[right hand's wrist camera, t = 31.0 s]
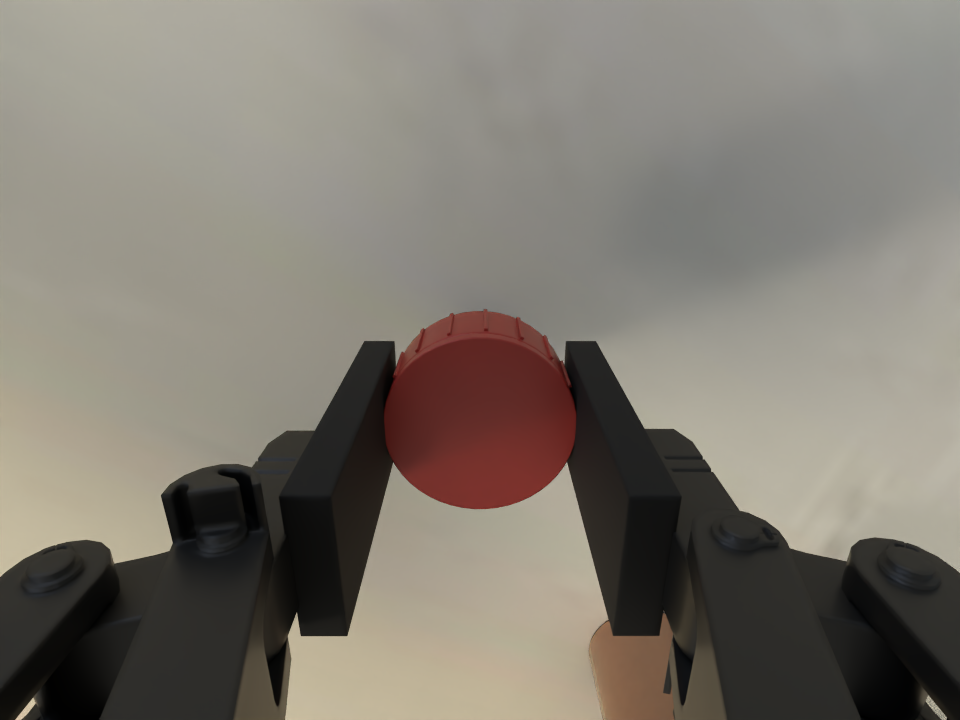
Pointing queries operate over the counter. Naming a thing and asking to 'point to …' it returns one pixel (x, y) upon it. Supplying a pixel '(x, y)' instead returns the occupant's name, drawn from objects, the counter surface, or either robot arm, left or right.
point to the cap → (480, 411)
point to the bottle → (632, 674)
